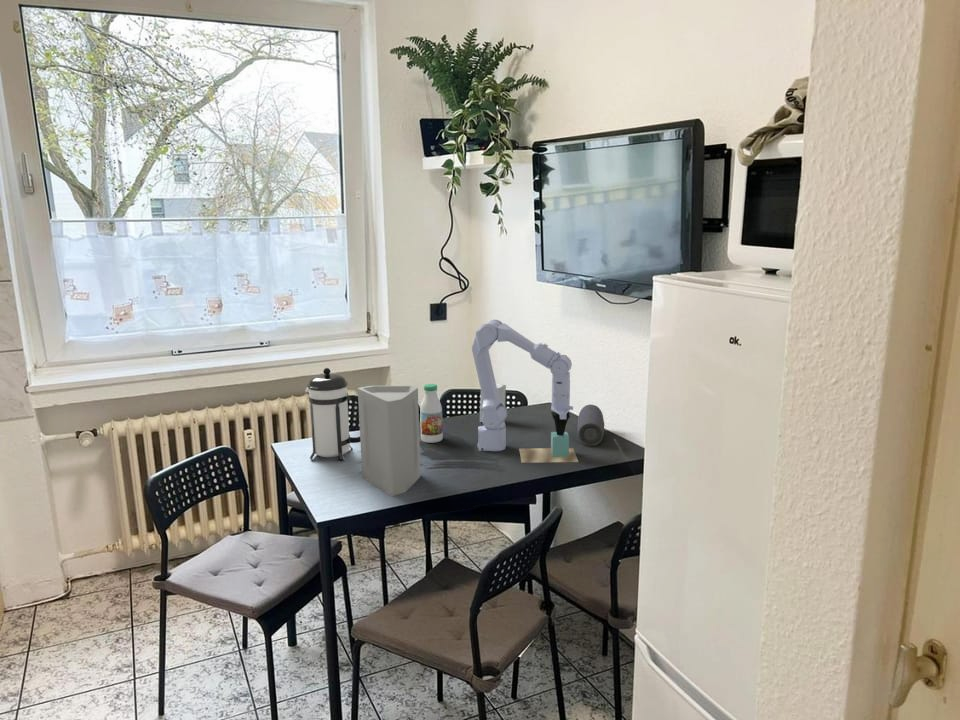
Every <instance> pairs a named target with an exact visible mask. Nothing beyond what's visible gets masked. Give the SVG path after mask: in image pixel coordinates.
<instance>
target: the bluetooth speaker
mask: <svg viewBox="0 0 960 720" xmlns="http://www.w3.org/2000/svg"><path fill="white" fill-rule="evenodd" d="M603 414H604V413H603V412H602V410H601V409H600V408H599V406H597V405H595V404H586V405H584V406H583V407H582V408H581V409H580V412H579V413H578V417H577V425H576V426H577V428H576V429H577V436H578V439H579V441H580V443H582V444H583V445H584V446H592V447H593V446H594V447H595V446H598V445H599V444H600V443H601V442H602V440H603V438H604V434H605V419H604V415H603Z"/></svg>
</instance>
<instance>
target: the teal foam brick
mask: <svg viewBox="0 0 960 720" xmlns="http://www.w3.org/2000/svg"><path fill="white" fill-rule="evenodd" d="M550 437H551V438H550V440H551V441H550V448H551V453H552V456H553V457H569V448H570V436H569V433H568V431H565V432H564V435H557V433H556V431H551V432H550Z"/></svg>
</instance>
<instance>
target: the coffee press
mask: <svg viewBox="0 0 960 720" xmlns="http://www.w3.org/2000/svg"><path fill="white" fill-rule="evenodd" d="M322 372H323V373H322V374H318V375H316V376H313V377H312V378H311V379H310V380H309V382H308V384H307V387H306V388H305V390H304V392H305V393H308V394H309V395H308V402H309V407H310V408H309V411H310V424H311V438H312V442H311V443H312V453H311V455H310V457H309V459H310V460H311V461H312V462H315V461H316V460H317V459H318V458H319V457H323V458H334V457H336V458H337V460H338V462H339V463H340V462H345V457H344V455H345V454H346V453H348V452H349V453H351V452H353V447H352V446H351V444H357V443H360V436H357V437H354V436H353V437H351V435H350V427H349V426H350V425H349V422H350V421H349V407H348V405H349V404H348V401H352V402H356V403H357V404H358V405H359V403H358V395H355V394H352V395H349V393H348V384H349V383H348V381H347V380H346V378H345V377H344V376H343V375H341V374H337V373H331V370H330V368H328V367H325V368H323V371H322Z"/></svg>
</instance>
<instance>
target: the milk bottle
mask: <svg viewBox="0 0 960 720" xmlns="http://www.w3.org/2000/svg"><path fill="white" fill-rule="evenodd" d="M423 392H424V395H423V399H422V401H421V404H420V407H419V408H420V409H419V411H420V413H419V423H420V439H421V441H422V442H424V443H427V444H428V443H430V444H435V443H439V442H441V441H443V438H444V432H443V429H444V428H443V427H444V425H443V407H442V404H441V402H440V399H439V397H438V385H437V384H436V383H427V384H424V386H423Z"/></svg>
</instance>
